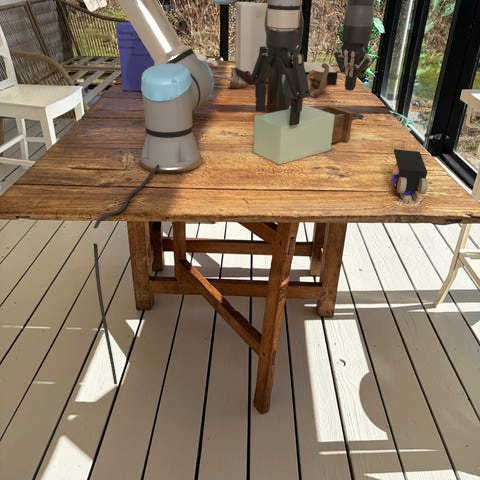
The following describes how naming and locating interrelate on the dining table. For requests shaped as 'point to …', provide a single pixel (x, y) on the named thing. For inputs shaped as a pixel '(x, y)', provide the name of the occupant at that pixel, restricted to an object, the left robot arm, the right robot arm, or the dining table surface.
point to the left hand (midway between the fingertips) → (276, 117)
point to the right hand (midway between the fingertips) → (349, 89)
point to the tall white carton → (249, 34)
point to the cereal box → (132, 56)
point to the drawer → (341, 122)
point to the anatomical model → (317, 81)
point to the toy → (205, 59)
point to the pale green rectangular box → (292, 134)
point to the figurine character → (409, 173)
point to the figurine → (238, 78)
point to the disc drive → (318, 67)
